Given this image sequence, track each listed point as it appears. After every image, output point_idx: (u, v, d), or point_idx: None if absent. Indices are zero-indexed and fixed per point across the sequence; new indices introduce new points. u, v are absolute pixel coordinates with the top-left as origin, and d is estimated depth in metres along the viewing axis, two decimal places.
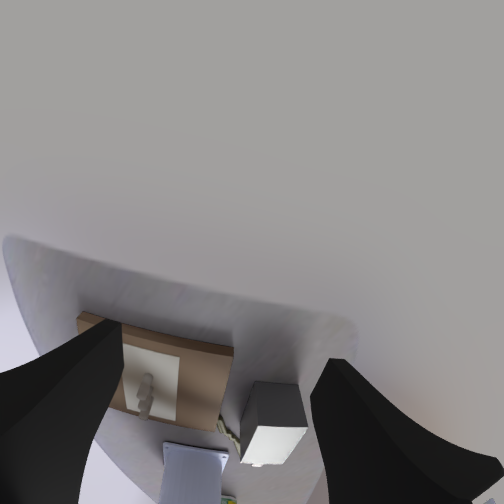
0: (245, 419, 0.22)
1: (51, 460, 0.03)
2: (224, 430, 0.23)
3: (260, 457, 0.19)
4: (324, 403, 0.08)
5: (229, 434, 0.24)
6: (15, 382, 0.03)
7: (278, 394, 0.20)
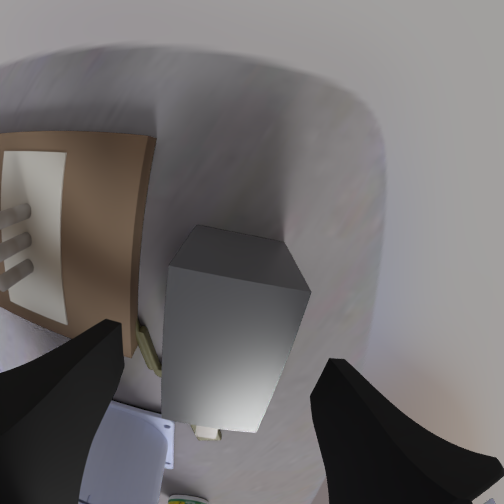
0: None
1: (51, 460, 0.03)
2: (151, 359, 0.13)
3: (200, 406, 0.09)
4: (324, 403, 0.08)
5: None
6: (15, 382, 0.03)
7: (239, 242, 0.11)
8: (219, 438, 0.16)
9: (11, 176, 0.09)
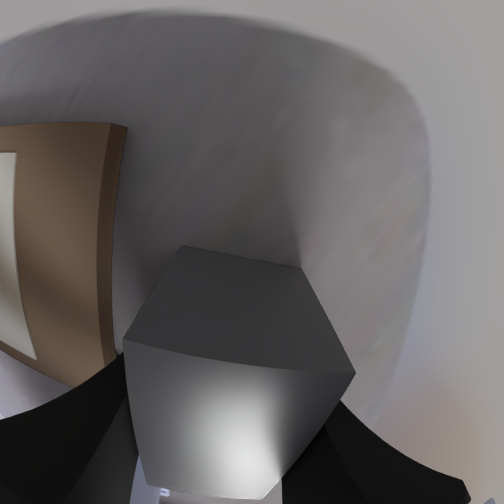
0: None
1: (112, 487, 0.03)
2: None
3: (193, 481, 0.06)
4: None
5: None
6: (70, 411, 0.03)
7: (240, 275, 0.07)
8: None
9: None
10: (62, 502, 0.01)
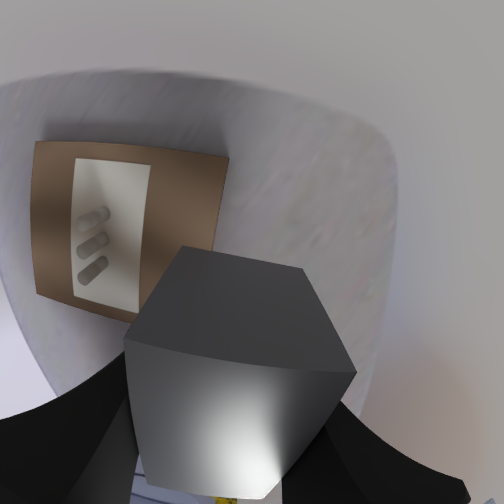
0: None
1: (112, 487, 0.03)
2: None
3: (193, 481, 0.06)
4: None
5: None
6: (71, 412, 0.03)
7: (241, 274, 0.07)
8: None
9: (86, 182, 0.13)
10: (62, 502, 0.01)
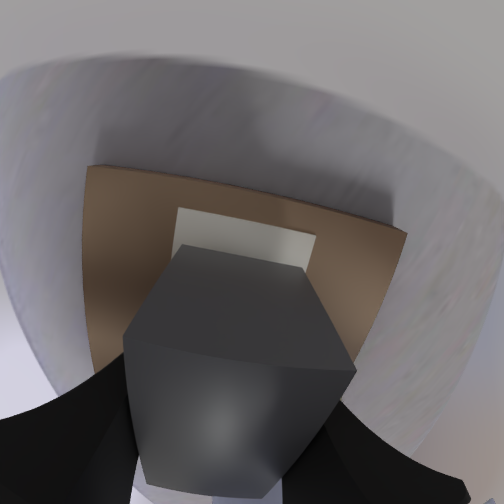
0: None
1: (112, 487, 0.03)
2: None
3: (193, 480, 0.06)
4: None
5: None
6: (71, 412, 0.03)
7: (240, 273, 0.07)
8: None
9: None
10: (62, 502, 0.01)
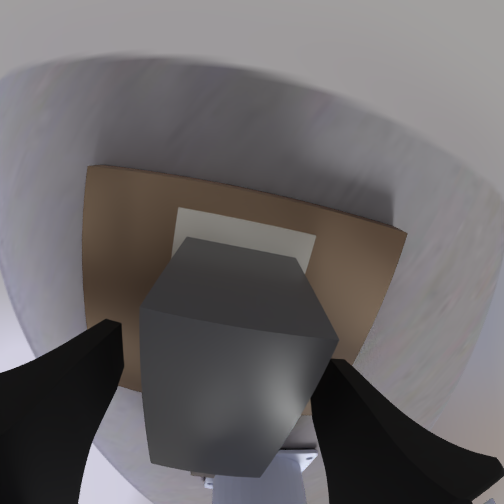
0: None
1: (51, 460, 0.03)
2: None
3: (194, 456, 0.07)
4: (324, 403, 0.08)
5: None
6: (15, 383, 0.03)
7: (239, 261, 0.08)
8: None
9: None
10: None
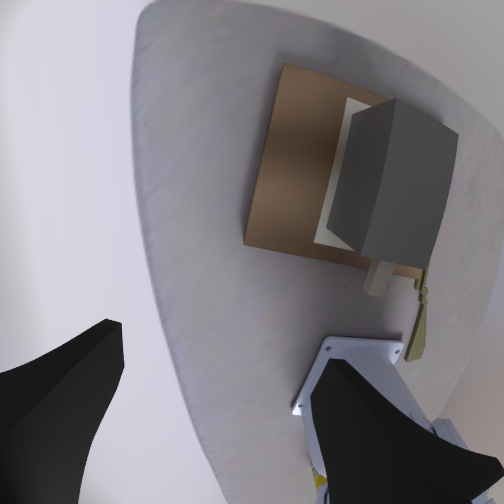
0: (346, 183, 0.13)
1: (51, 460, 0.03)
2: (425, 278, 0.18)
3: (398, 230, 0.10)
4: (324, 403, 0.08)
5: (426, 289, 0.18)
6: (15, 382, 0.03)
7: None
8: (420, 356, 0.21)
9: None
10: None
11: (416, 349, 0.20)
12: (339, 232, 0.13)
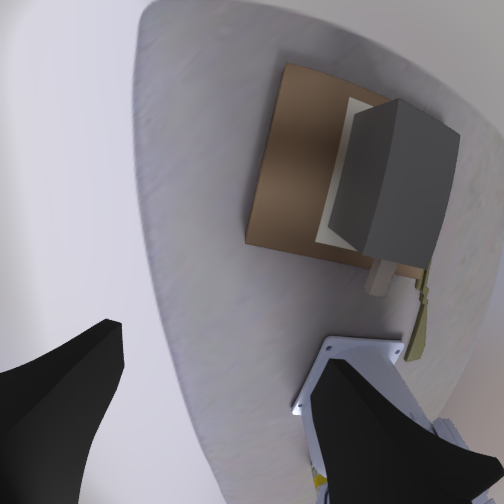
0: (348, 183, 0.13)
1: (51, 460, 0.03)
2: (426, 278, 0.18)
3: (400, 230, 0.10)
4: (324, 403, 0.08)
5: (427, 289, 0.18)
6: (15, 383, 0.03)
7: None
8: (420, 356, 0.21)
9: None
10: None
11: (416, 349, 0.20)
12: (341, 231, 0.13)
